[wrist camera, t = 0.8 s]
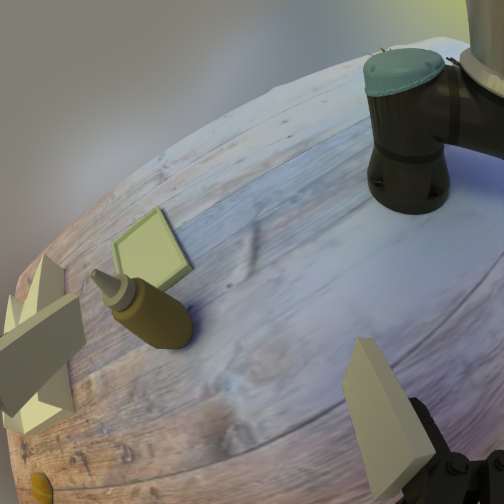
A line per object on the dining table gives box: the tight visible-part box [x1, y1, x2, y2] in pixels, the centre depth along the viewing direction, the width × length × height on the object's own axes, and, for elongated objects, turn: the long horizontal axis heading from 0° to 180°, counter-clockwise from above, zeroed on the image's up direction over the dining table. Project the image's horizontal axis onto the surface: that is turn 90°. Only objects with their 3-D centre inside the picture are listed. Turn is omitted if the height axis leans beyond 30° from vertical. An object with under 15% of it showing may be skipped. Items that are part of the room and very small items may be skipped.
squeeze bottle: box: [91, 269, 193, 349], centre depth 34 cm, size 8×8×18 cm
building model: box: [2, 254, 75, 437], centre depth 49 cm, size 45×22×10 cm, turn 31°
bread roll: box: [31, 473, 53, 504], centre depth 26 cm, size 8×9×4 cm
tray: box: [111, 205, 193, 292], centre depth 54 cm, size 23×15×2 cm, turn 32°
